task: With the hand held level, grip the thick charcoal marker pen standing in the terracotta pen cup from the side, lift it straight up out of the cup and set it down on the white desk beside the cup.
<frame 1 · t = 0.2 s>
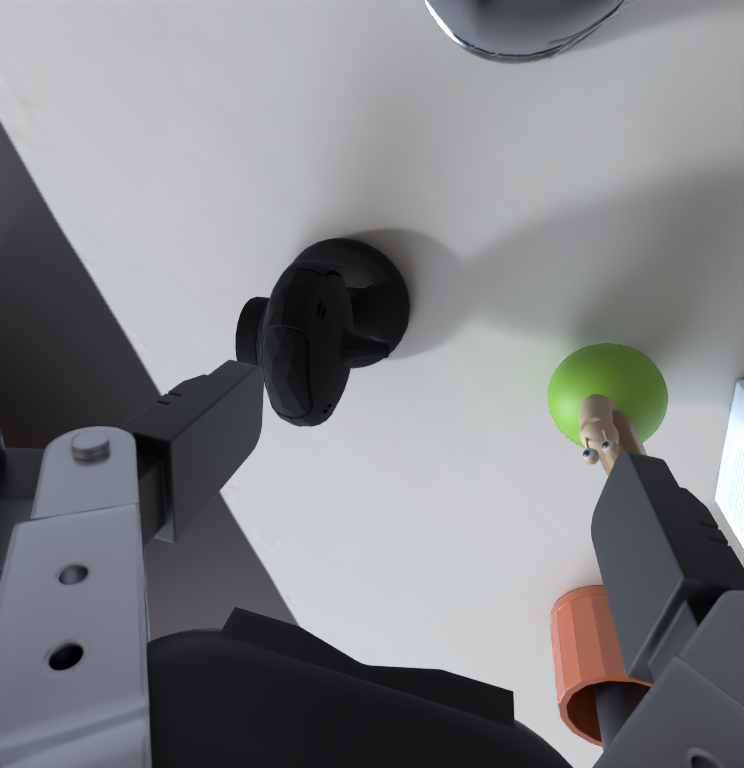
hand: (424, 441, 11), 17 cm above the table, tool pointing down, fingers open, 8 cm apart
marker pen: (607, 632, 35), point 1 cm above the table, touching pen cup
webcam: (347, 301, 29), on the table
snail figurine: (590, 365, 27), on the table
pen cup: (605, 622, 36), on the table
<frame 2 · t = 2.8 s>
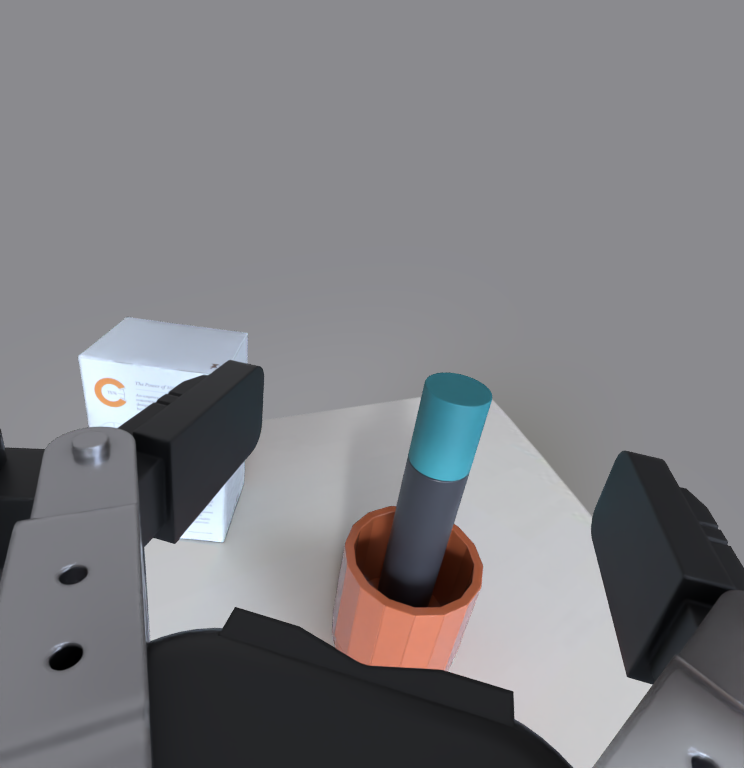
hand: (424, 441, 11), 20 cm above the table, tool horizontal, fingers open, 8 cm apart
marker pen: (395, 622, 29), point 1 cm above the table, touching pen cup
small box: (179, 507, 36), on the table
pen cup: (393, 631, 30), on the table
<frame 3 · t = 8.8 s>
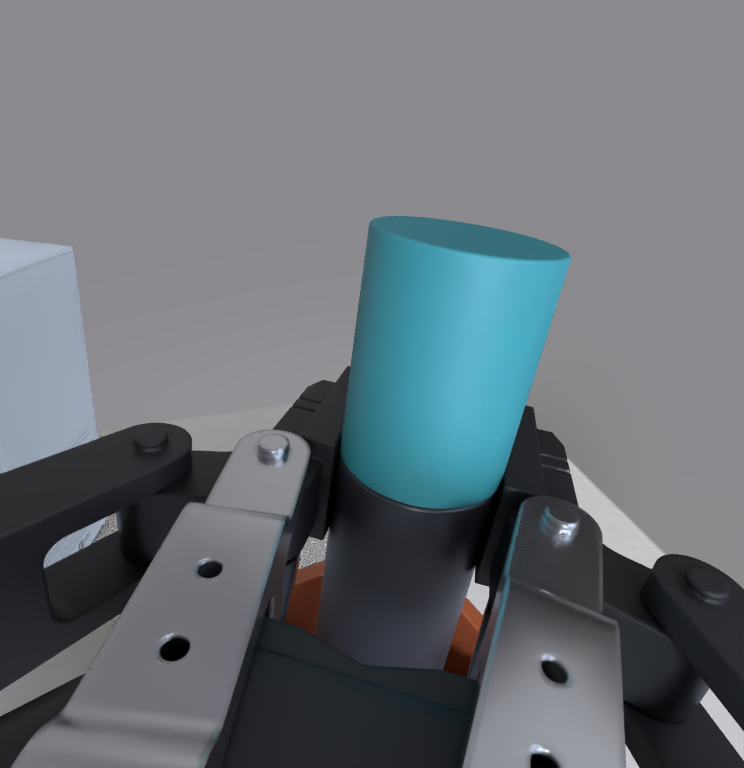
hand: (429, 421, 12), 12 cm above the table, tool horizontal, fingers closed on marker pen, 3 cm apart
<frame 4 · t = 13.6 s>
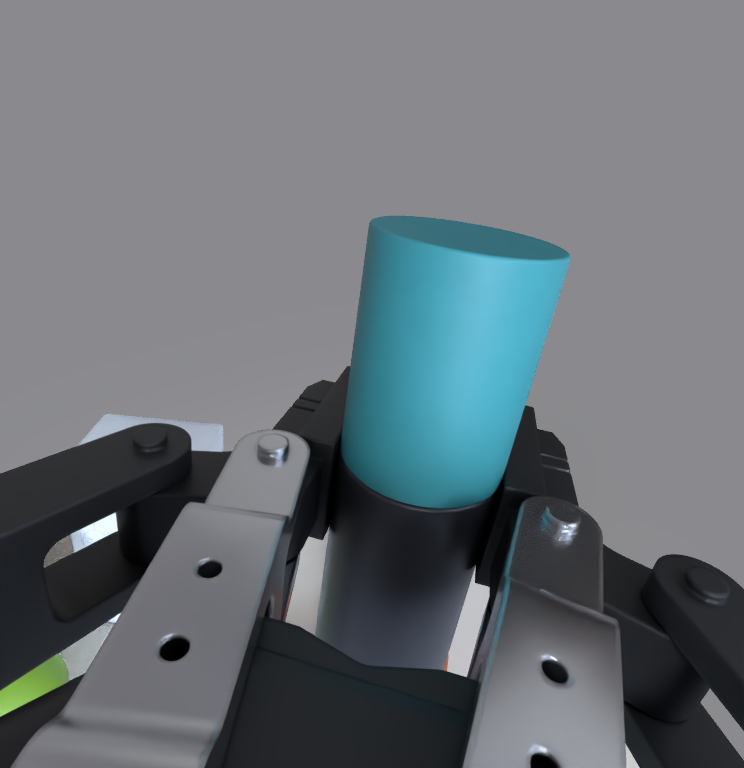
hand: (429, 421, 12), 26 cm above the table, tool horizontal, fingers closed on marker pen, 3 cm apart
small box: (159, 590, 37), on the table
snail figurine: (7, 733, 28), on the table
when the fingers open (11 cm above the table, at t = 18.5 s): marker pen stays where it is, on the table.
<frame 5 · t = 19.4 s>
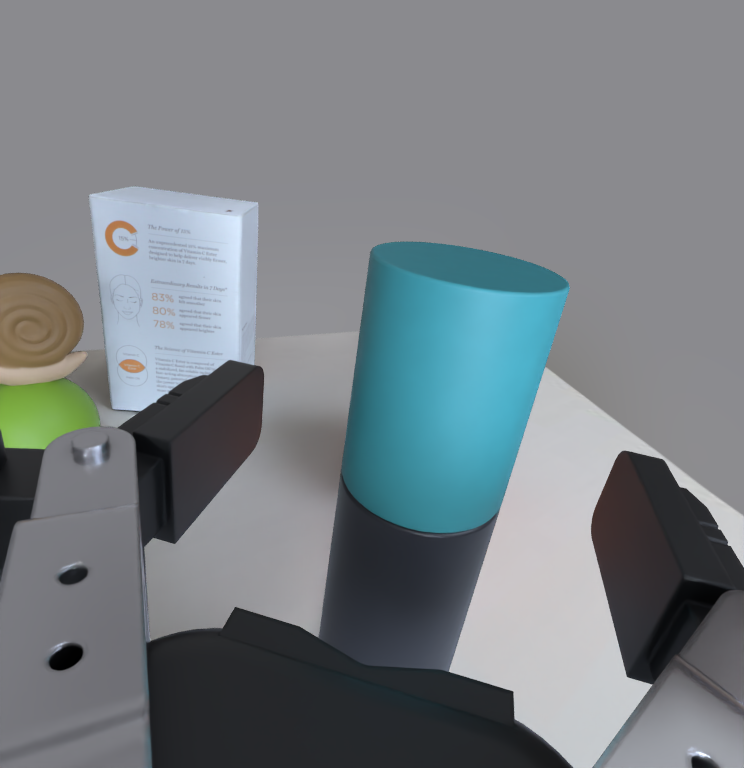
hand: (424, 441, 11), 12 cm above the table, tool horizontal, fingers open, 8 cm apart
small box: (188, 396, 35), on the table
snail figurine: (34, 479, 25), on the table
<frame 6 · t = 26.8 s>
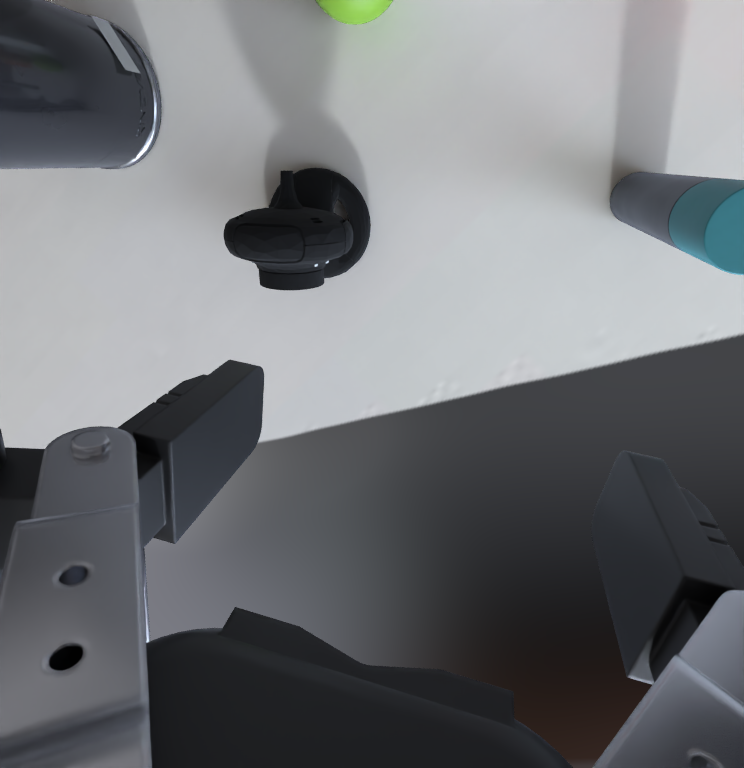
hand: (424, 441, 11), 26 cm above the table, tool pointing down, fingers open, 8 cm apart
marker pen: (635, 198, 31), on the table
webcam: (322, 224, 36), on the table
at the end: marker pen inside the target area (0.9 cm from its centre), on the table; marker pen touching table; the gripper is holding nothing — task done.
